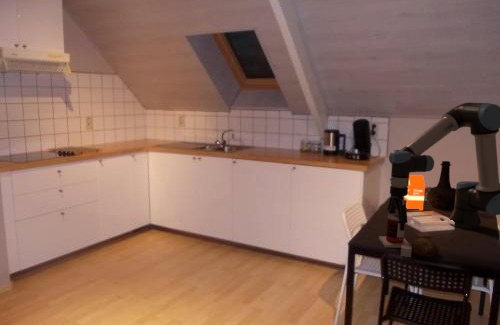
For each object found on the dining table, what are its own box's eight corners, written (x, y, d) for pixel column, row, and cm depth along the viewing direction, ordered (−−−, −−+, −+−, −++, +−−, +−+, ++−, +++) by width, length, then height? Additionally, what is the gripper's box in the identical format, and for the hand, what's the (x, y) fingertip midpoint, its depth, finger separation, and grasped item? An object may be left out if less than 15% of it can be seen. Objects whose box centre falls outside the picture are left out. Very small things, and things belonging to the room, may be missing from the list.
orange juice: (423, 210, 250) (426, 176, 246) (407, 210, 250) (410, 176, 246) (418, 206, 258) (421, 174, 254) (403, 206, 258) (406, 173, 254)
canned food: (403, 238, 197) (405, 215, 195) (403, 244, 190) (405, 220, 188) (386, 236, 200) (388, 213, 198) (385, 242, 192) (387, 218, 190)
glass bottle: (464, 212, 249) (470, 164, 244) (433, 211, 249) (438, 163, 244) (450, 203, 266) (455, 159, 261) (421, 203, 266) (425, 158, 261)
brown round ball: (423, 242, 197) (424, 232, 196) (430, 246, 192) (431, 235, 191) (413, 243, 196) (414, 232, 195) (420, 247, 191) (421, 236, 190)
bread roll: (410, 256, 190) (404, 240, 188) (431, 246, 190) (425, 230, 189) (421, 265, 180) (415, 248, 179) (443, 255, 180) (437, 238, 179)
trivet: (402, 239, 200) (402, 236, 200) (410, 248, 189) (411, 245, 189) (378, 238, 200) (379, 236, 200) (385, 247, 190) (386, 244, 189)
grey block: (410, 255, 181) (411, 246, 181) (410, 258, 178) (411, 249, 177) (400, 253, 183) (401, 244, 182) (400, 257, 179) (401, 248, 178)
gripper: (382, 179, 203) (379, 223, 206) (400, 192, 178) (396, 241, 182) (398, 180, 203) (395, 223, 206) (418, 193, 178) (413, 241, 182)
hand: (395, 231), depth 194 cm, fingers open, 13 cm apart
